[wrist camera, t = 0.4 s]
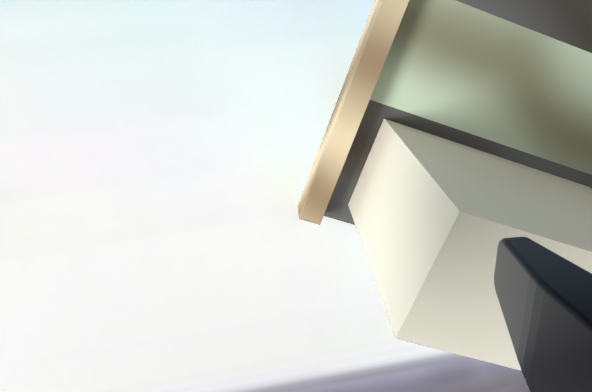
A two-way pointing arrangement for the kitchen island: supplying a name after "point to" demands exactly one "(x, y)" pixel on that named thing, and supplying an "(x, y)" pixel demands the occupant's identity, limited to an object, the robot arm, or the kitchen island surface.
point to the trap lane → (463, 89)
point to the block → (457, 235)
